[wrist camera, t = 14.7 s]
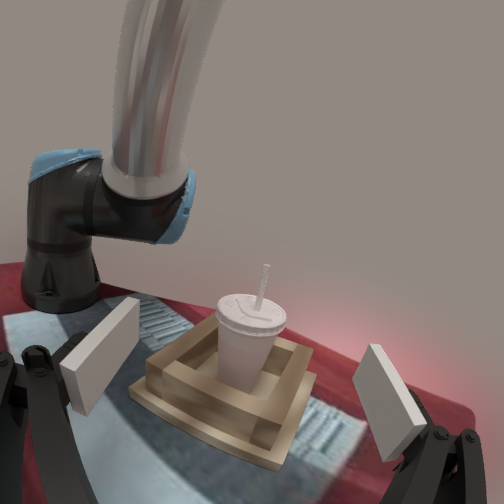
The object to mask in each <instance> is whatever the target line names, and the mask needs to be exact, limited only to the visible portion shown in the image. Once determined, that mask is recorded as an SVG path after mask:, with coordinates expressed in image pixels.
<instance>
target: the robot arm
mask: <svg viewBox="0 0 504 504" xmlns="http://www.w3.org/2000/svg"><path fill="white" fill-rule="evenodd" d="M223 3H224V0H127V4H126V9H125V13H124V18H123V24H122V29H121V35H120V42H119V49H118V56H117V64H116V75H115V86H114V100H113V101H114V102H113V129H112V141H113V142H112V145H113V146H112V147H113V148H112V150H110V152H109V153H108V154H107V155H106V157H105V158H104V159H101V158H102V155H101V151H100V150H99V149H93V148H82V149H63V150H54V151H48V152H44V153H41V154H39V155H38V156H37V157H36V158H35V159H34V161H33V163H32V167H31V173H30V178H29V181H28V186H29V188H28V203H27V204H28V205H27V253H26V257H25V262H24V266H23V271H22V277H21V291H22V297H23V299H24V301H25V302H26V303H27V304H28V305H29V306H31V307H33V308H35V309H37V310H40V311H44V312H50V313H67V312H74V311H78V310H81V309H84V308H86V307H89V306H90V305H92V304H93V303H95V302H96V301H97V300H98V299H99V297H100V294H101V281H100V277H99V274H98V271H97V267H96V264H95V260H94V257H93V253H92V248H91V242H92V236H98V237H107V238H114V239H122V240H129V241H137V242H144V243H149V244H153V245H155V244H173V243H175V242H177V241H178V240H179V239H180V237H181V236H182V234H183V232H184V229H185V227H186V224H187V221H188V218H189V211H190V209H191V207H192V203H193V199H194V194H195V188H196V174H195V172H194V171H193V170H190V169H189V166H188V161H187V158H186V157H185V155H184V153H183V152H182V151H181V147H182V142H183V137H184V133H185V129H186V124H187V120H188V115H189V112H190V108H191V104H192V100H193V96H194V92H195V88H196V85H197V82H198V78H199V75H200V71H201V68H202V64H203V61H204V58H205V55H206V51H207V48H208V45H209V42H210V39H211V36H212V33H213V30H214V27H215V24H216V22H217V19H218V16H219V14H220V11H221V8H222V6H223ZM139 315H140V300H139V299H135V298H132V297H127V298H126V299H124V300H123V301H122V302H121V303H120V304H119V305H118V306H117V307H116V308H115V309H114V310H113V311H112V312H111V313H110V314H109V315H108V316H107V317H106V318H104V319H103V320H102V321H101V322H100V323H99V324H98V325H97V326H96V327H95V328H94V329H93V330H92V331H91V332H90V333H89V334H88V333H85V332H83V331H81V332H79V333H77V334H75V335H73V336H72V337H71V338H70V339H69V340H68V341H67V342H65V343H64V344H63V346H61V347H60V348H59V349H58V350H57V351H56V352H55V353H54V354H53V355H52V356H50V352H49V350H48V349H47V348H46V347H43V346H41V345H33V346H29V347H27V348H26V349H25V350H24V351H23V352H22V355H21V356H22V359H23V363H24V365H21V364H18V363H15V361H14V358H13V356H12V355H11V354H10V353H8V352H6V351H1V352H0V504H22V463H23V450H24V440H25V432H26V425H27V418H28V412H29V421H30V429H31V436H32V442H33V448H34V453H35V458H36V463H37V467H38V472H39V476H40V479H41V483H42V487H43V490H44V494H45V497H46V500H47V503H48V504H98V502H97V499H96V497H95V495H94V493H93V490H92V488H91V485H90V483H89V480H88V478H87V475H86V473H85V470H84V467H83V464H82V461H81V458H80V455H79V452H78V449H77V446H76V442H75V439H74V435H73V432H72V428H71V424H70V420H69V416H68V412H67V409H66V406H67V405H68V403H69V402H70V403H71V406H72V409H73V410H75V411H77V412H79V413H81V414H83V415H85V416H88V414H89V413H90V411H91V410H92V408H93V407H94V405H95V404H96V402H97V401H98V399H99V398H100V396H101V395H102V393H103V392H104V390H105V389H106V387H107V386H108V384H109V383H110V381H111V380H112V378H113V377H114V376H115V374H116V373H117V371H118V370H119V368H120V367H121V365H122V364H123V363H124V361H125V360H126V358H127V357H128V355H129V354H130V353H131V351H132V350H133V348H134V347H135V346H136V344H137V343H138V341H139ZM352 380H353V383H354V385H355V388H356V390H357V393H358V396H359V398H360V401H361V403H362V406H363V409H364V411H365V414H366V417H367V419H368V422H369V425H370V427H371V430H372V433H373V436H374V438H375V441H376V444H377V447H378V450H379V453H380V455H381V458H382V461H383V462H388V461H394V460H396V459H397V458H398V457H399V456H400V455H401V454H402V453H403V455H404V459H403V460H402V461H401V462H400V463H399V464H398V465H397V466H396V467H395V468H394V469H393V471H395V470H396V469H397V471H396V473H395V475H394V477H393V479H392V481H391V483H390V485H389V487H388V489H387V491H386V493H385V494H384V496H383V498H382V500H381V501H380V503H379V504H487V497H486V481H485V471H484V462H483V455H482V449H481V443H480V438H479V436H478V435H477V433H476V432H475V431H474V430H471V429H465V430H463V432H462V433H461V434H460V435H459V436H455V435H450V434H449V432H448V431H447V430H446V429H445V428H443V427H442V426H435V425H434V423H433V421H432V420H431V418H430V416H429V415H428V413H427V411H426V409H425V408H424V406H423V404H422V403H421V401H420V399H419V398H418V396H417V395H416V394H415V393H414V392H413V391H412V390H411V389H409V390H408V389H407V388H406V386H405V384H404V383H403V381H402V380H401V378H400V376H399V374H398V373H397V371H396V369H395V368H394V366H393V364H392V363H391V361H390V360H389V358H388V357H387V355H386V354H385V352H384V350H383V349H382V347H381V345H379V344H369V345H368V347H367V350H366V352H365V354H364V356H363V358H362V360H361V362H360V364H359V366H358V368H357V370H356V373H355V374H354V376H353V378H352ZM457 466H458V468H457V472H455V468H456V467H457Z"/></svg>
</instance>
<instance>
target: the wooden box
mask: <svg viewBox="0 0 504 504" xmlns="http://www.w3.org/2000/svg"><path fill="white" fill-rule="evenodd" d="M218 323H219V320H218V319H217V317H216V315H215V313H213V314H211V315H210V316H209V317H207V318H206V319H204V320H203V321H202V322H200V323H199V324H197V325H196V326H194V327H193V328H191V329H190V330H189V331H187V332H186V333H184V334H183V335H181V336H180V337H178V338H177V339H175V340H174V341H173V342H171V343H170V344H168V345H167V346H165V347H164V348H162V349H161V350H159V351H158V352H156V353H155V354H153V355H152V356H150V357H149V358H147V359H146V360H145V373H146V375H145V376H144V377H142V378H141V379H139V380H138V381H137V382H135V383H134V384H132V385H131V386H130V387H129V397H130V398H132V399H133V400H134V401H136V402H137V403H139V404H140V405H142V406H143V407H145V408H146V409H148V410H149V411H151V412H153V413H154V414H156V415H157V416H159V417H161V418H162V419H164V420H166V421H167V422H169V423H171V424H172V425H174V426H176V427H178V428H179V429H181V430H183V431H185V432H187V433H188V434H190V435H192V436H194V437H196V438H198V439H200V440H202V441H204V442H206V443H208V444H210V445H212V446H214V447H216V448H218V449H220V450H222V451H225V452H227V453H229V454H231V455H234V456H236V457H238V458H241V459H243V460H246V461H248V462H251V463H253V464H256V465H258V466H261V467H264V468H267V469H269V470H272V471H275V472H278V471H279V470H280V468H281V466H282V465H283V462H284V460H285V458H286V456H287V453H288V451H289V448H290V446H291V444H292V441H293V439H294V436H295V434H296V431H297V429H298V426H299V423H300V421H301V418H302V415H303V413H304V410H305V407H306V404H307V402H308V399H309V396H310V393H311V390H312V387H313V384H314V381H315V378H316V375H317V374H315V373H312V372H308V371H306V368H307V366H308V363H309V361H310V358H311V355H312V353H313V350H314V349H313V348H310V347H307V346H303V345H300V344H297V343H295V342H292V341H289V340H286V339H283V338H280V337H276V340H275V342H274V344H273V346H272V348H271V351H270V353H269V355H268V357H267V359H266V361H265V364H264V366H263V368H262V370H261V372H260V374H259V376H258V378H257V380H256V382H255V385H254V387H253V389H252V391H251V393H250V394H247V393H244V392H242V391H239V390H237V389H235V388H232V387H230V386H228V385H226V384H223V383H221V382H219V381H217V365H218Z"/></svg>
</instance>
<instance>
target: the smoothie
mask: <svg viewBox="0 0 504 504" xmlns="http://www.w3.org/2000/svg"><path fill="white" fill-rule="evenodd" d="M269 271H270V265H268V264H264V267H263V272H262V276H261V281H260V285H259V289H258V294H257V296H254V295H248V294H232V295H227V296H225V297H223V298H221V299H220V300H219V301H218V304H217V309H216V313H215V315H216V317H217V319H218V320H219V323H218V365H217V381H219V382H221V383H223V384H226V385H228V386H230V387H232V388H235V389H237V390H239V391H242V392H244V393H247V394H250V393H251V391H252V389H253V387H254V385H255V382H256V380H257V378H258V376H259V374H260V372H261V370H262V368H263V366H264V364H265V361H266V359H267V357H268V355H269V353H270V351H271V348H272V346H273V344H274V342H275V340H276V337H277V335H278V333H280V332H281V331H282V330H283V329H284V327H285V322H286V318H287V317H286V313H285V311H284V310H283V309H282V308H281V307H280V306H279V305H277V304H276V303H274V302H272V301H270V300H267V299H265V298H263V296H264V292H265V288H266V284H267V279H268V275H269Z"/></svg>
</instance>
